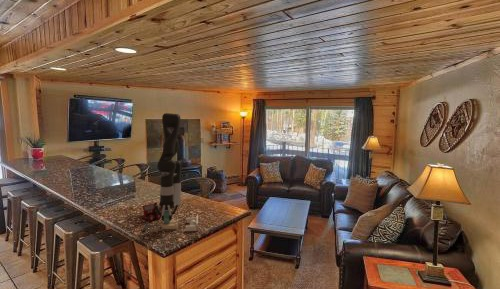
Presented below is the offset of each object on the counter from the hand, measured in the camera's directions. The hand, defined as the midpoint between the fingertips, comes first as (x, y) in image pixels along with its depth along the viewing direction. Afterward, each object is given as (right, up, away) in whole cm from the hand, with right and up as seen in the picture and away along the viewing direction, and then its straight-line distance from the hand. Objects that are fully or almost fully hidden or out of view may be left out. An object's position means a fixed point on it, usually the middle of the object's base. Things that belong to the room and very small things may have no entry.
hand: (166, 220), depth 159 cm
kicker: (+2, -4, +1) cm, 4 cm away
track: (-2, -4, 0) cm, 5 cm away
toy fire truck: (-13, -3, +12) cm, 18 cm away
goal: (+15, -4, +3) cm, 16 cm away
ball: (+15, -4, +3) cm, 15 cm away
